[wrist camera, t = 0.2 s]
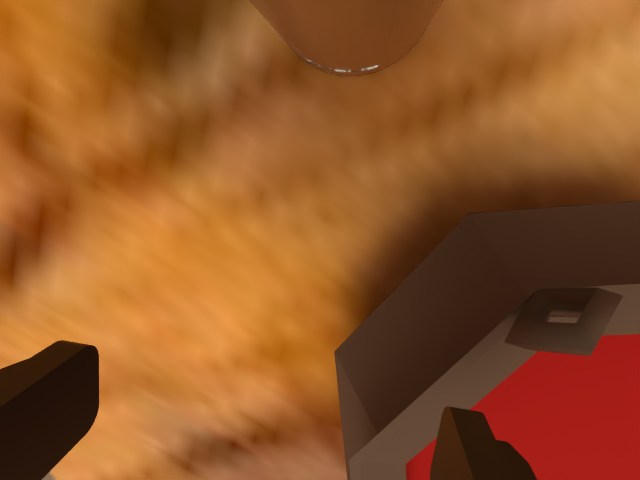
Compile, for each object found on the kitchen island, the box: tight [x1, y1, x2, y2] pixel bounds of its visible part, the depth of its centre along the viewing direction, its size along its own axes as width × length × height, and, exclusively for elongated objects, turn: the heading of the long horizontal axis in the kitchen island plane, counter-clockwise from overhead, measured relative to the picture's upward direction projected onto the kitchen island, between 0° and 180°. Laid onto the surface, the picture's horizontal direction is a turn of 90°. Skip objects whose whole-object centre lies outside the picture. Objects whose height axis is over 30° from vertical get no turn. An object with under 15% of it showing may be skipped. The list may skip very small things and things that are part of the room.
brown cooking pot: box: [335, 201, 640, 480], centre depth 19 cm, size 24×24×16 cm
